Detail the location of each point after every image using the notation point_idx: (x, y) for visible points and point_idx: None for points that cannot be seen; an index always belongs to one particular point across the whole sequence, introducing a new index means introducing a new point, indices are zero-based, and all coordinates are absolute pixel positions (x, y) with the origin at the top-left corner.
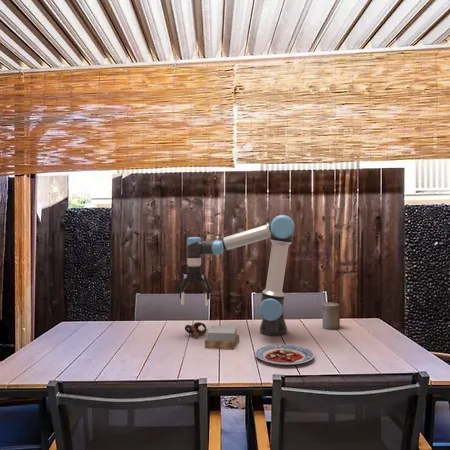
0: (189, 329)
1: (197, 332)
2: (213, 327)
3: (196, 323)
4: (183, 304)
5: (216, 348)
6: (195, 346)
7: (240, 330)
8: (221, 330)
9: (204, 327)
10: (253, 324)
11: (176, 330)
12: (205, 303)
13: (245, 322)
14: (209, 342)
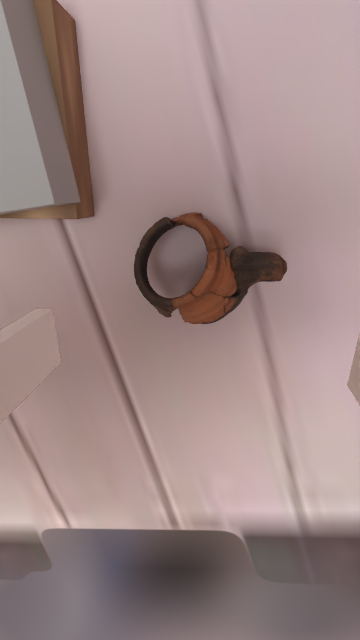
0: (245, 250)
1: (179, 219)
2: (19, 155)
3: (198, 282)
4: (355, 353)
5: None
6: (142, 32)
7: None
8: None
9: (148, 282)
10: (17, 471)
11: None
12: (34, 319)
13: (58, 495)
14: None
